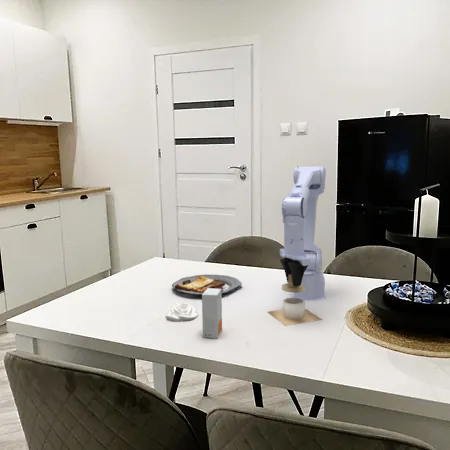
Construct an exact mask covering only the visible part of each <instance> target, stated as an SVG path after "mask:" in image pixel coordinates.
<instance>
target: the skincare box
mask: <svg viewBox="0 0 450 450" xmlns="http://www.w3.org/2000/svg"><path fill="white" fill-rule="evenodd" d="M222 294H223V293H222V291H221V289H214V288H207V289H206V290H205V291H204V293H203V294H202V295H201V308H202V310H201V311H202V312H201V313H202V318H201V319H202V337H203V338H209V339H218V338H219V335H221V333H222V331H223V307H222V306H223V303H222V302H223V301H222V300H223V299H222Z"/></svg>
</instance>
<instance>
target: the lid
mask: <svg viewBox="0 0 450 450" xmlns="http://www.w3.org/2000/svg"><path fill="white" fill-rule="evenodd" d="M281 290H282V291H284V292H286V293H291V294H295V293H298V292H303V291H305V285H303V284H301V286H293V282H292V274H289V276H288V282H287V283H284V284H281Z"/></svg>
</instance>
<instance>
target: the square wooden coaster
mask: <svg viewBox="0 0 450 450" xmlns="http://www.w3.org/2000/svg"><path fill="white" fill-rule="evenodd" d="M267 313H268V314H269V315H270V316H272V317H273V318H274V319H276V320H277V321H278V322H279V323H280V324H282V325H283V326H285V327H288V326H292V325H299V324H304V323H305V324H306V323H310V322H315V321H321V320H323V318H321V317H319V316H318V315H316V314H315V313H313V312H311V311H310V310H308V309H307V308H305V317H304V318H302V319H287V318H285V317H284V316H283V308H282V309H276V310H269V311H267Z"/></svg>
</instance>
